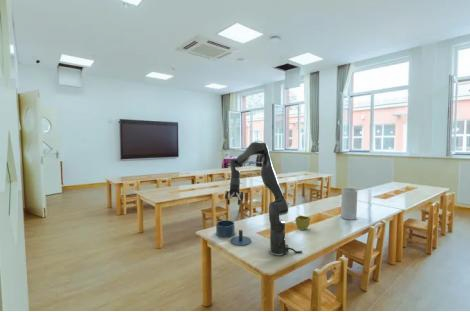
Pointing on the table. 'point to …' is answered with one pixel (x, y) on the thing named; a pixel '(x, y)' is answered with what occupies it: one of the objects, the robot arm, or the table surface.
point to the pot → (225, 228)
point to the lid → (240, 239)
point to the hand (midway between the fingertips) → (233, 204)
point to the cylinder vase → (349, 203)
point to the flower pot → (302, 222)
